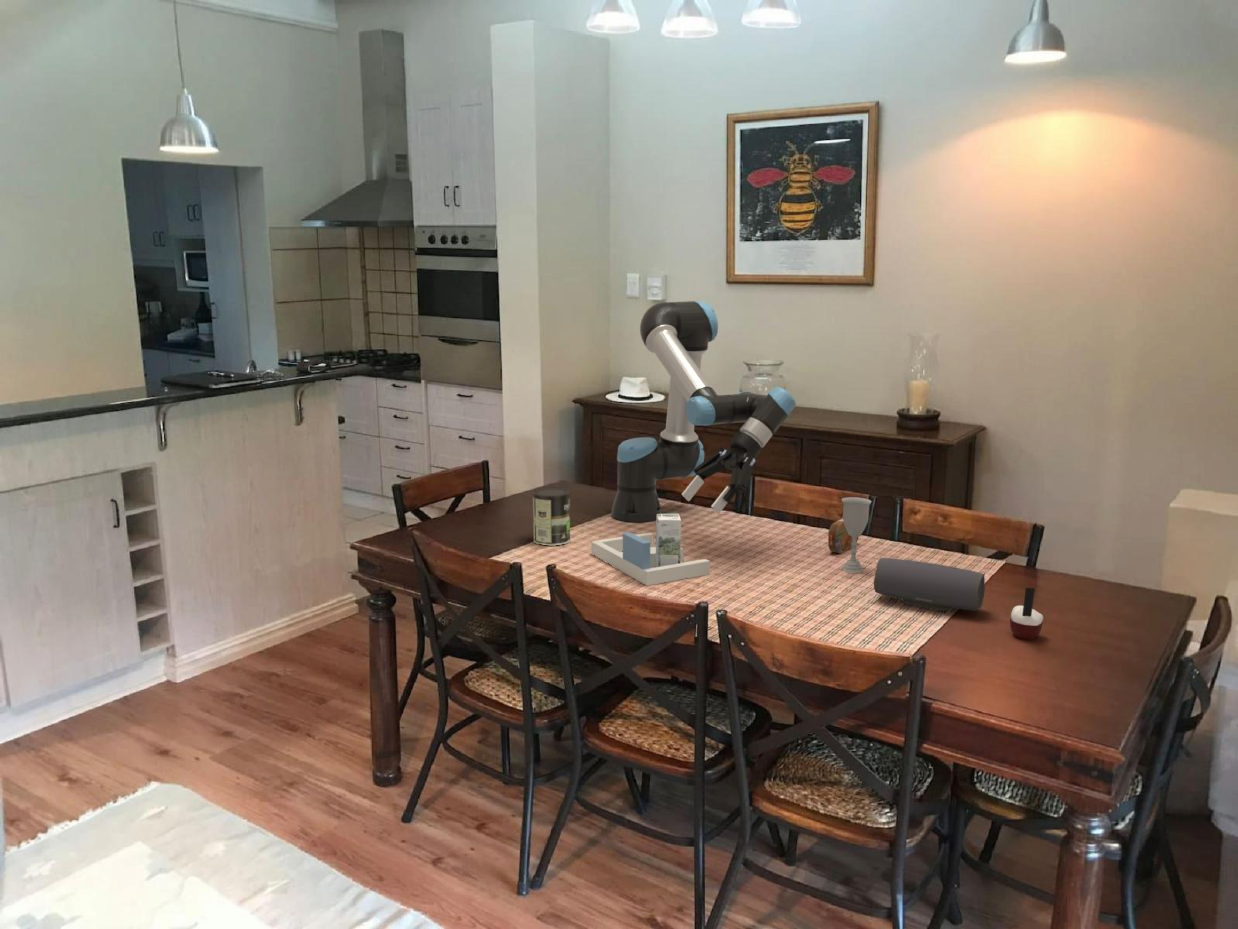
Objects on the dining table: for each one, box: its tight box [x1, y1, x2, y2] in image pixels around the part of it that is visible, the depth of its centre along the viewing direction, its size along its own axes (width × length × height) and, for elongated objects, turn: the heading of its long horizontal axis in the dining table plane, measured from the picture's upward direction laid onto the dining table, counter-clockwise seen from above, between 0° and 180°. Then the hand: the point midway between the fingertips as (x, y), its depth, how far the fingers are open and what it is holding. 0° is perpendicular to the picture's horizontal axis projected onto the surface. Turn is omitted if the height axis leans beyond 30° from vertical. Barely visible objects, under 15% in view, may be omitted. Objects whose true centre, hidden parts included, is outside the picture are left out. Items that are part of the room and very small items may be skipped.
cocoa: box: [1009, 587, 1044, 641], centre depth 205 cm, size 10×6×12 cm, turn 137°
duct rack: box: [590, 531, 711, 587], centre depth 252 cm, size 29×18×10 cm, turn 29°
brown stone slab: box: [827, 517, 859, 554], centre depth 266 cm, size 15×3×8 cm, turn 143°
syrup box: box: [655, 513, 682, 567], centre depth 246 cm, size 6×6×14 cm
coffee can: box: [532, 487, 571, 547], centre depth 272 cm, size 10×10×14 cm
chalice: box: [841, 496, 872, 574], centre depth 248 cm, size 7×7×18 cm
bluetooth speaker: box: [873, 557, 986, 612], centre depth 223 cm, size 23×9×10 cm, turn 59°
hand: (699, 503), depth 248 cm, fingers open, 13 cm apart
